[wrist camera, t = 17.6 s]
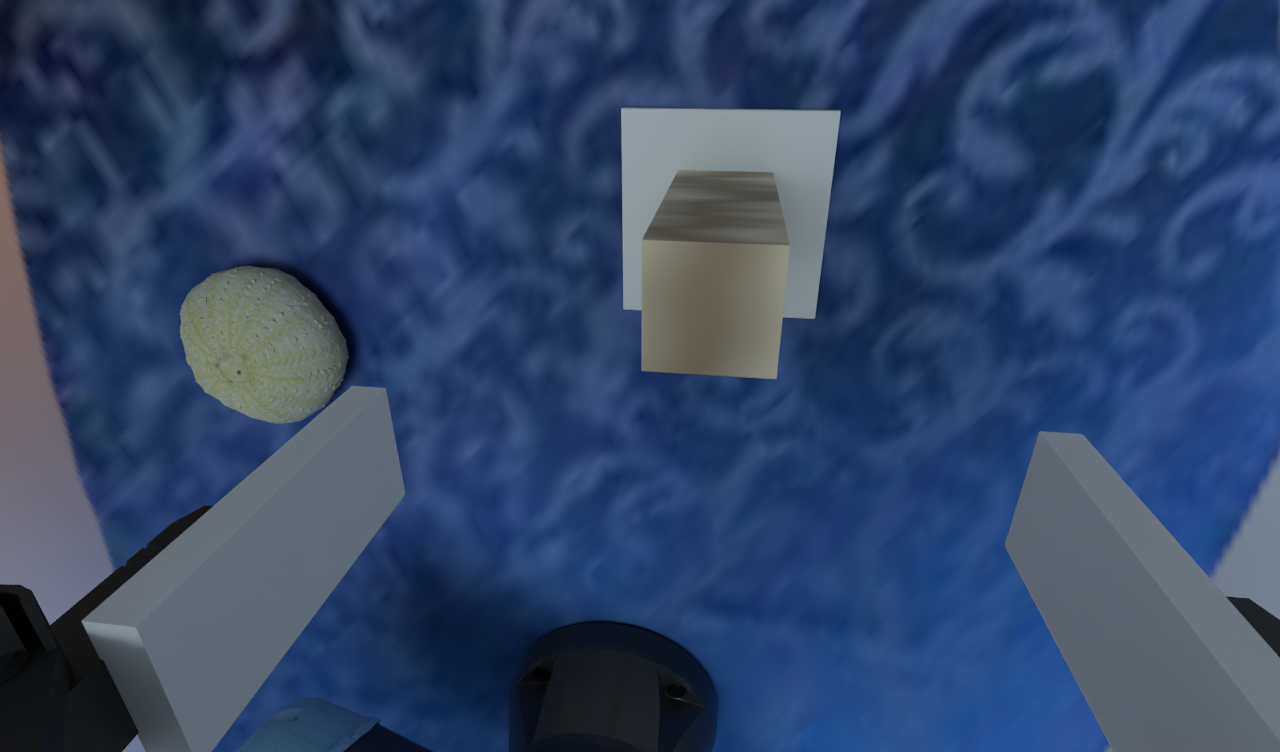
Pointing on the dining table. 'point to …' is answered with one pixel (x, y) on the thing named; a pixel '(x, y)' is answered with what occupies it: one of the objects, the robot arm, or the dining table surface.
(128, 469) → the dining table surface
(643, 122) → the mat
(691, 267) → the beige rectangular block
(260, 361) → the sea urchin shell
